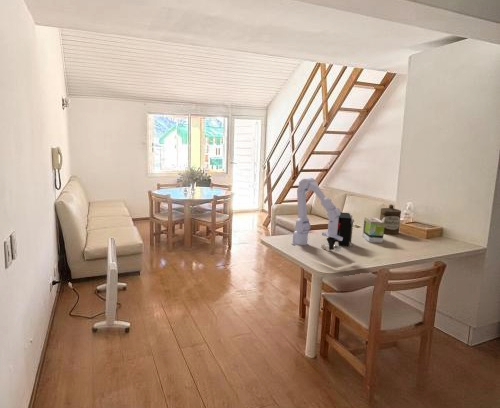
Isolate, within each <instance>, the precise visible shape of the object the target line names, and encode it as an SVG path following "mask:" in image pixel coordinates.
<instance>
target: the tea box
mask: <svg viewBox="0 0 500 408" xmlns="http://www.w3.org/2000/svg"><path fill="white" fill-rule="evenodd" d="M363 219H364V220H363V228H362V229H363V230H362V237H363V238H364V239H365V240H366V241H367V242H368V243H383V240H384V235H385V234H384V226H385V222H383V221H382V220H380V218H377V217H364V218H363Z"/></svg>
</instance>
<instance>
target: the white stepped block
mask: <svg viewBox="0 0 500 408" xmlns="http://www.w3.org/2000/svg"><path fill="white" fill-rule="evenodd" d="M324 245H325V244H324ZM324 247H326V249H325V250H326V251H327V252H330V251H332V250H330V249H329V245H325V246H324Z"/></svg>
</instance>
